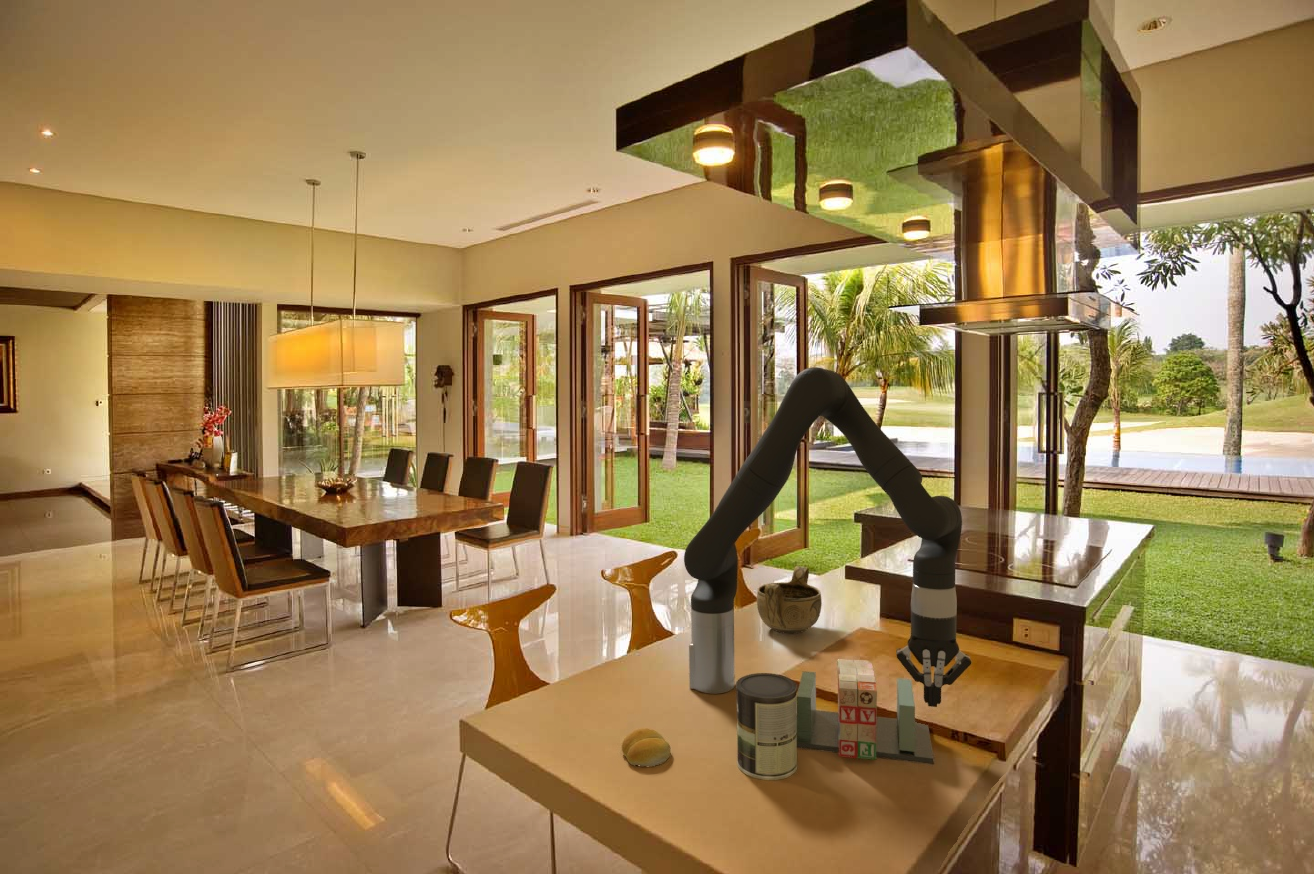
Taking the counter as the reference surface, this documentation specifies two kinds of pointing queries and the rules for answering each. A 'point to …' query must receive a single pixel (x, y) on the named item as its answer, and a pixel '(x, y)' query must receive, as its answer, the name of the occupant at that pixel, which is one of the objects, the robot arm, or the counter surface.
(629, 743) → the bread roll
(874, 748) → the stack of blocks
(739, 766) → the coffee can
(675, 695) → the counter surface
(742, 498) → the robot arm
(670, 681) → the counter surface
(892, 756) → the vise
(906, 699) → the sliding jaw
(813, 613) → the ceramic bowl
